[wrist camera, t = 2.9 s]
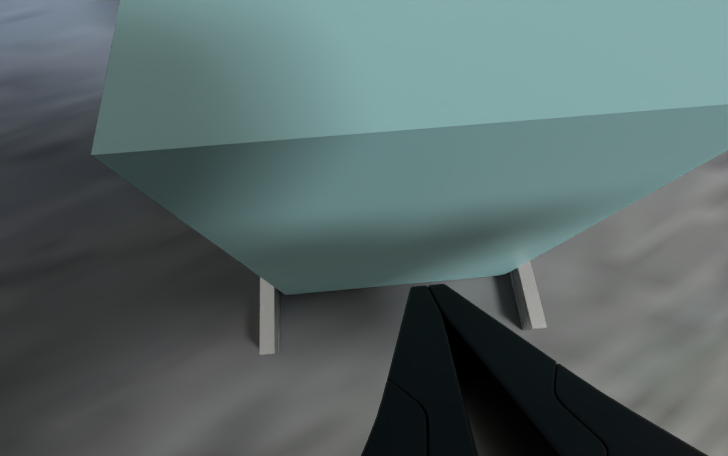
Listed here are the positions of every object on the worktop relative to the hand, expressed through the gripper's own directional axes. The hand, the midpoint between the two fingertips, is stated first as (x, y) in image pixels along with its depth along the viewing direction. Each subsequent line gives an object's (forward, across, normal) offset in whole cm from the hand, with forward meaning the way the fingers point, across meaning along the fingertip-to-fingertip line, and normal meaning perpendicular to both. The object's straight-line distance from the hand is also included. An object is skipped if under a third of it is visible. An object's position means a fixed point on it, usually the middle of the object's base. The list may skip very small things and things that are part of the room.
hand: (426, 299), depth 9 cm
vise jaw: (+7, 0, +3) cm, 8 cm away
